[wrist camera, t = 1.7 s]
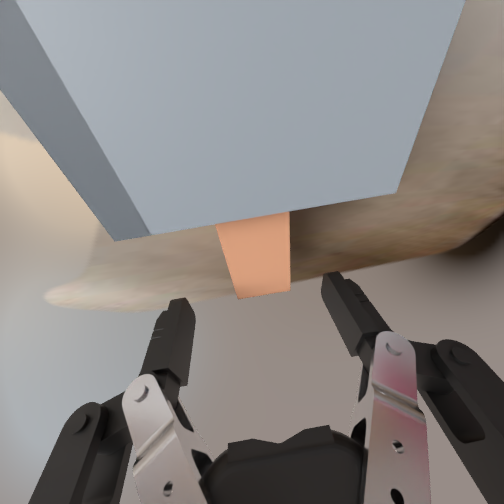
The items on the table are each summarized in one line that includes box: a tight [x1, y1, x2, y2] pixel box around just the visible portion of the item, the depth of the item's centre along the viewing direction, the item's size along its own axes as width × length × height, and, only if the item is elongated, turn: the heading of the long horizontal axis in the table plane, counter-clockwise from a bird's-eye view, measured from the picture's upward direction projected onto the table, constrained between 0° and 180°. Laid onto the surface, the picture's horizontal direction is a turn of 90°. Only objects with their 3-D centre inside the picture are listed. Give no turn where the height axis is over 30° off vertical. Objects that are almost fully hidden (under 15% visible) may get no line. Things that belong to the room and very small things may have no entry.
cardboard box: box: [215, 211, 290, 299], centre depth 10 cm, size 4×15×6 cm, turn 8°
